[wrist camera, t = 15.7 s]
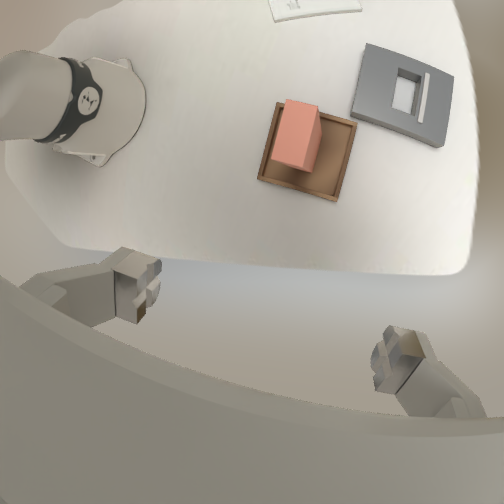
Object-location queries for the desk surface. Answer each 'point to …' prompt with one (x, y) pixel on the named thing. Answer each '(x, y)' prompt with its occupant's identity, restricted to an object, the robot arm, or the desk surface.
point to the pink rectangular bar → (298, 136)
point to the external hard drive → (310, 8)
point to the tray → (326, 164)
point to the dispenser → (382, 91)
